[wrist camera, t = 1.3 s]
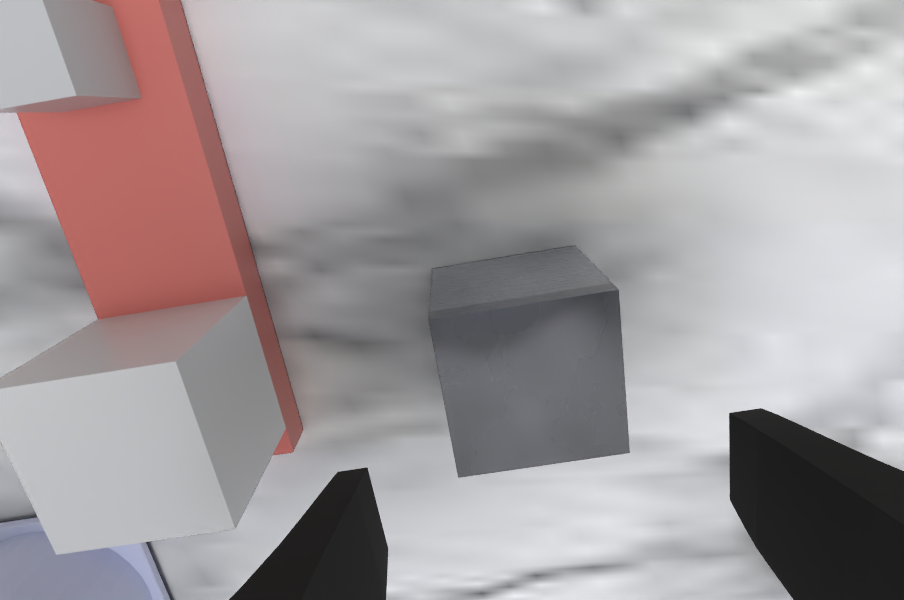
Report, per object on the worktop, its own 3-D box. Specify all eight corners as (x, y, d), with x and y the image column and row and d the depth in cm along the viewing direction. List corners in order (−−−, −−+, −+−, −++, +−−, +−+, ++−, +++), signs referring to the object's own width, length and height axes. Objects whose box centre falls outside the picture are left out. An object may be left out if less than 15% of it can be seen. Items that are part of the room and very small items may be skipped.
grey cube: (587, 374, 21) (629, 453, 16) (455, 394, 21) (458, 477, 16) (575, 245, 19) (618, 289, 14) (432, 268, 19) (428, 319, 15)
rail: (303, 429, 21) (245, 558, 15) (177, 448, 22) (70, 583, 15) (157, -81, 16) (-26, -203, 10) (-10, -49, 16) (-291, -149, 10)
